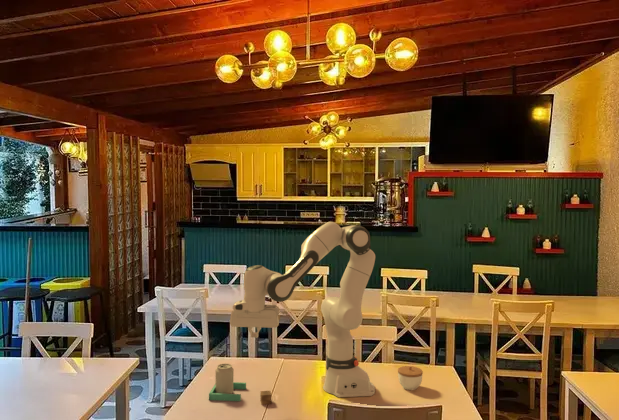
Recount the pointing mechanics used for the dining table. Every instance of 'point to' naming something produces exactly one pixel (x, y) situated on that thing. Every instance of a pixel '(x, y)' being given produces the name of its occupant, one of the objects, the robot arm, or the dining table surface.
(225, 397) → the corral
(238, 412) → the dining table surface
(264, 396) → the walnut block
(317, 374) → the dining table surface
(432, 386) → the dining table surface
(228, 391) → the can
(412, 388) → the lidded jar
